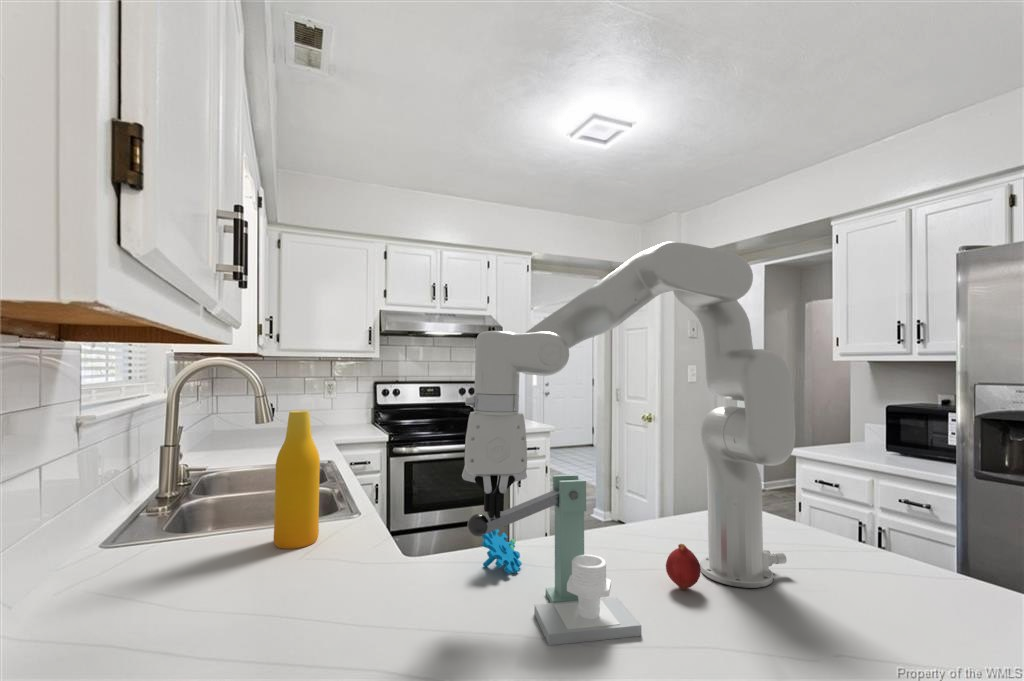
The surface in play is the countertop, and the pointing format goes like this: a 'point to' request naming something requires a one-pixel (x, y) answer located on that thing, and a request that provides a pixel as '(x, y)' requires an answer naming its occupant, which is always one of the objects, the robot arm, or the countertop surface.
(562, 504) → the press
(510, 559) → the gear
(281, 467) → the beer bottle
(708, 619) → the countertop surface
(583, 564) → the pipe fitting
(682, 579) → the onion
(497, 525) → the lever
